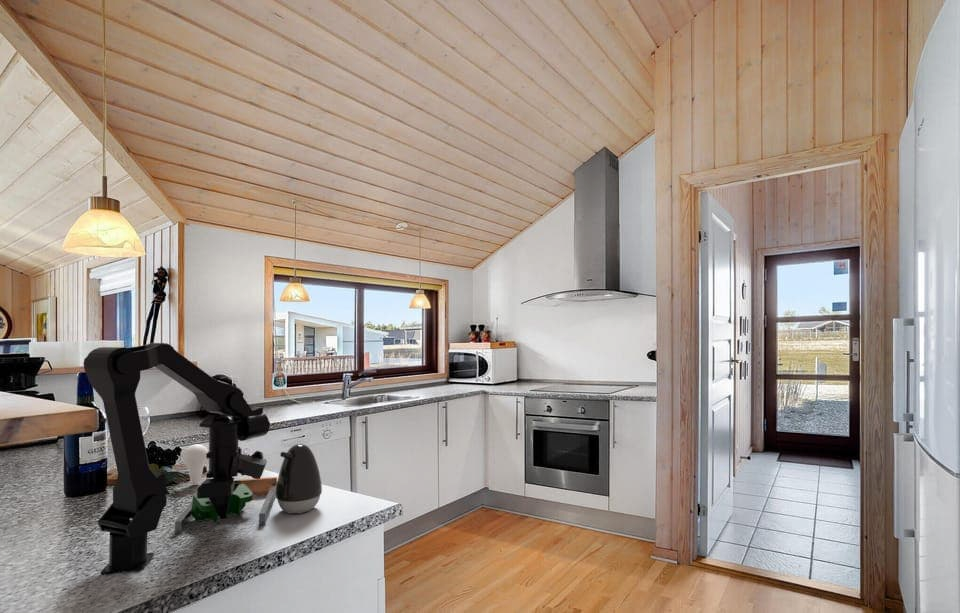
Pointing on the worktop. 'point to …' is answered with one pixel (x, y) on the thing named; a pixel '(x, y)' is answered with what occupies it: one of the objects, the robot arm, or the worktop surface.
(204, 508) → the clamp
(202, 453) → the lightbulb
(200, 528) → the worktop surface
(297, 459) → the pump dispenser
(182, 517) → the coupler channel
